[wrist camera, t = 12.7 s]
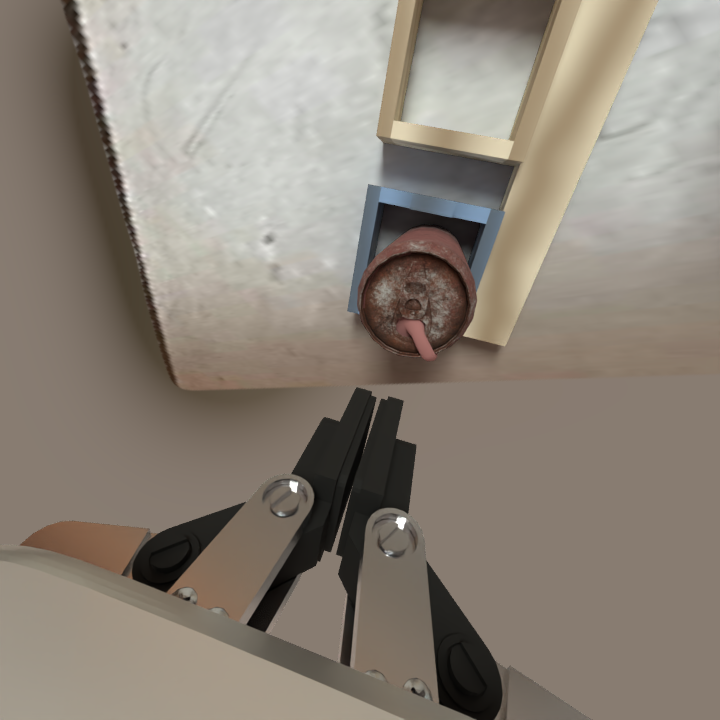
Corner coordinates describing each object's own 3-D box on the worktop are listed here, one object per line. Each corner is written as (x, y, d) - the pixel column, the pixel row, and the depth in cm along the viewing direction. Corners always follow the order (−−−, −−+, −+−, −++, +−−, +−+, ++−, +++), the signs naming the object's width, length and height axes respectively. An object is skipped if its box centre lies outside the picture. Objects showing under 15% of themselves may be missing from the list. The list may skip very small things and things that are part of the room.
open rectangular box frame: (655, -22, 18) (714, -84, 14) (501, 337, 29) (510, 358, 25) (416, -48, 20) (410, -109, 16) (355, 301, 31) (342, 316, 27)
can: (412, 309, 30) (392, 384, 18) (378, 249, 28) (330, 285, 16) (475, 277, 27) (502, 338, 15) (442, 208, 26) (442, 214, 13)
